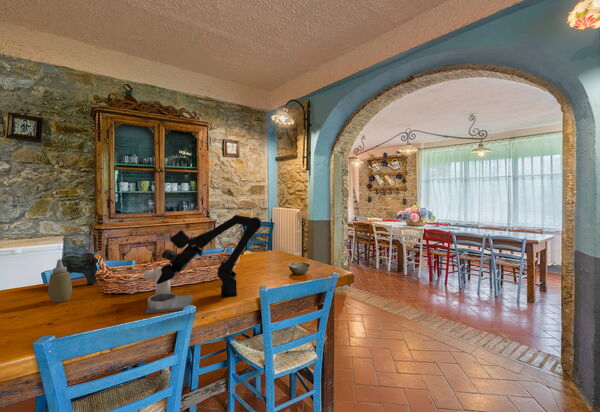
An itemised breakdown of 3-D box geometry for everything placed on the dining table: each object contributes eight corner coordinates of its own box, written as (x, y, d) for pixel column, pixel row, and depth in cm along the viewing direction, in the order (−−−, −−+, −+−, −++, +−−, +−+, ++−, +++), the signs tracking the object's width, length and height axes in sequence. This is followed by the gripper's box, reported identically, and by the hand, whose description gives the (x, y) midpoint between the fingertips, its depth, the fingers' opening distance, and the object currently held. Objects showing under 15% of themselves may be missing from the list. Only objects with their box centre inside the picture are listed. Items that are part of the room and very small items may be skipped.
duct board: (192, 297, 126) (192, 288, 126) (189, 309, 113) (189, 299, 113) (152, 301, 122) (152, 291, 122) (144, 314, 108) (144, 303, 108)
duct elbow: (171, 293, 131) (170, 266, 130) (169, 298, 125) (168, 269, 124) (147, 296, 128) (146, 267, 127) (144, 300, 122) (143, 271, 122)
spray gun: (102, 282, 148) (101, 244, 147) (94, 286, 142) (93, 247, 141) (63, 283, 147) (62, 245, 146) (53, 287, 141) (52, 247, 140)
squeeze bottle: (76, 298, 124) (75, 258, 124) (54, 305, 117) (53, 262, 116) (66, 296, 128) (65, 257, 127) (44, 302, 120) (43, 260, 120)
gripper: (180, 240, 136) (156, 263, 135) (165, 247, 117) (138, 273, 117) (197, 256, 137) (173, 278, 136) (185, 265, 118) (158, 292, 118)
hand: (161, 280), depth 127 cm, fingers open, 9 cm apart
